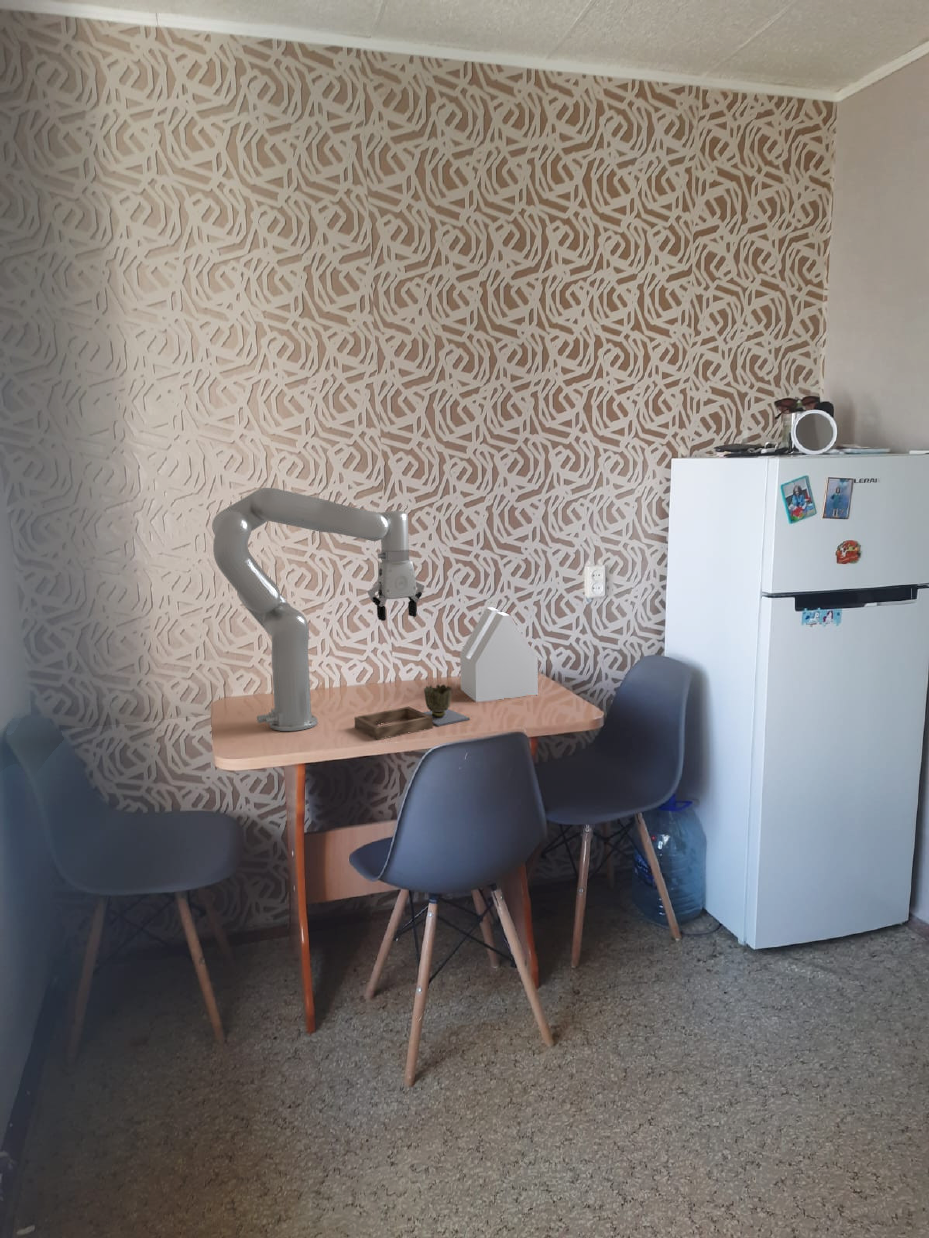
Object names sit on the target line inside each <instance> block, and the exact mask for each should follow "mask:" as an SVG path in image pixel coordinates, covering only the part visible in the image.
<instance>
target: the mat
mask: <svg viewBox="0 0 929 1238" xmlns="http://www.w3.org/2000/svg"><path fill="white" fill-rule="evenodd" d="M421 712H422V711H421ZM444 712H445V715H444V716H443V717H441V718H435V717H433V716H432V711H430V710H428V711H423V712H422V713H424V714H427V715H429V716H431V717H432V718H433V725H434V726H436V727H438V728H440V727H442V726H447V725H453V724H456V723H461V722H466V721H470V717H468V716H466V715H464V714H461V713H459V712H456V711H454V710H451V709H449V708H448V709H447V710H446V711H444Z"/></svg>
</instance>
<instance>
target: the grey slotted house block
mask: <svg viewBox="0 0 929 1238" xmlns="http://www.w3.org/2000/svg"><path fill="white" fill-rule="evenodd" d="M459 659H460V660H459V661H460V666H459V667H460V668H459V669H460V671H459V672H460V690H461V691H462V692H463V691H464V692H463V693H464V694H466V695H467V696H469V697H470V698H471V699H472V700H473V701H474V702H475V703H481V702H482V703H483V702H491V701H500V700H499V699H502V700H505V699H504V698H511V699H516V698H515V697H521V696H526V695H538V696H539V687H538V685H539V674H538V673H539V663H538V662H539V657H538V656H537V655H536V654H535V652H534V650H533V649H532V646H531V645H530V644H529V643H528V641H527V640H526V638H525V636H524V635H523V634H522V631H521V630H520V629H519V627H518V625H517V623H516V622H515V621H514V619H513V618H512V616H511V615H510V614H508V613H506V612H503V611H502V612H500V610H499V609H497V608H495V607H492V606H491V607H486V608H485V609H484V611H483V612H482V615H481V616H480V618H479V619H478V621H477V623H476V625H475V627H474V628H473V630H472V632H471V634H470V635H469V637H468V639H467V640H466V642H465V644H464V646H463V648H462V649H461V651H460V652H459ZM521 698H522V697H521Z"/></svg>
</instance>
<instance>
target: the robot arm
mask: <svg viewBox="0 0 929 1238" xmlns="http://www.w3.org/2000/svg"><path fill="white" fill-rule="evenodd" d="M268 522H272V523H276V524H281V525H287V526H292V527H296V528H301V529H305V530H310V531H316V532H320V533H329V534H337V535H343V536H346V537H353V538H357V539H361V540H368V541H371V542H376V541H377V542H378V541H380V546H381V547H380V548H381V551H380V553H377V558H378V559H381V561H380V562H379V566H378V572H377V573H378V574H377V584H376V585H374V586H373V587H371V588H370V589H369V590H367V594H368V596H369V598H370V601H372V603H374V605H375V606H376V615H377V618H378V620H379V621H382V622H385V621H386V620H387V612H386V611H387V610H386V606H385V604H386V602H387V601H388V600H396V599H397V600H398V599H406V598H408V602H407V604H408V605H407V606H408V609H407V610H408V616H410V617H413V618H415V617H417V613H418V603H419V599H420V598H421V597H422V595H423V592H424V589H425V585H423V584H421V583H419V582H418V581H417V580H416V571H415V567H414V563H413V560H410V545H409V542H410V541H409V538H410V537H409V516H408V514H407V512H406V511H402V510H391V511H389V510H388V511H387V510H386V511H383V512H376V511H371V510H367V509H362V508H357V507H353V506H348V505H344V504H341V503H338V502H333V501H331V500H329V499H323V498H320V497H315V496H311V495H306V494H302V493H298V492H294V491H293V492H292V491H288V490H285V489H284V490H283V489H281V488H280V489H279V488H275V487H261V488H259V489H256V490H255V491H253V492H252V493H250V494H248V495H247V496H245V497H243V498H242V499H240V500H238V501H236V502H234V503H232V504H231V505H229V506H228V507H226V508H224V509H223V510H221V511H219V512H217V514H216V515H215V516H214V518H213V520H212V523H211V529H212V532H213V534H214V539H213V545H212V547H213V549H212V550H213V552H212V553H213V557H214V562H215V564H216V566H217V567H218V569H219V571H220V572H221V574H222V575H223V576H224V577H225V579H226V580H227V581H228V582H229V584H230V585H231V586H232V587H233V588H234V590H235V591H236V592H237V597H238V599H239V601H240V602H241V604H242V605H243V606H244V607H245V609H246V610H247V611H248V612H249V614H251V616H252V617H253V618H254V619H255V620H256V622H257V623H258V624H260V626H261V627H262V628H263V629H264V631H266V632H267V634H269V635H270V637H271V670H272V686H273V703H274V708H271V709H270V710H271V711H270V712H268V713H267V714H260V715H257V716H256V719H257V720H256V721H257V723H259V724H260V723H266V724H269V727H270V728H271V729H272V730H275V731H279V732H297V731H303V730H307V729H310V728H313V727H315V726H316V725H317V724H318V717H316V716H315V715H313V714H312V705H311V704H312V703H311V701H312V699H311V684H310V681H311V680H310V666H309V664H310V663H309V642H310V641H309V640H310V639H309V638H310V627H309V624H308V620H307V618H306V617H305V615H304V614H303V613H302V612H301V611H299V610H298V609H296V608H294V607H293V606H292V605H291V604H290V603H289V602H288V601H287V600H286V599H285V597H284V596H283V595H282V593H280V589H279V587H278V585H277V584H276V583H275V581H274V580H273V579H271V578H270V577H269V575H268V574H267V573H266V572H265V571H264V570H263V568H262V567H261V566H260V565H259V563H258V562H257V560H256V559H255V558H254V557H253V555H252V554H251V552H250V550H249V545H248V544H249V539H250V537H251V534H252V532H253V531H254V530H256V529H258V528H260V527H261V526H263V525H264V524H266V523H268ZM376 593H377V595H378V597H377V595H376Z"/></svg>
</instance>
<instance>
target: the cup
mask: <svg viewBox="0 0 929 1238" xmlns="http://www.w3.org/2000/svg"><path fill="white" fill-rule="evenodd" d="M423 691H424V693H423V694H424V698H425V704H426V707H427V709H428V711H432V716H433V717H435V718H441V717H443V716H444V715H445V712H444V711H446V710H447V709H449V708H450V704H451V698H452V697H451V695H452V687H451V686H449V685H447V686H446V685H445V684H442V685H440V684H437V685H436V687H433V686H432V685H429V686H425V687H424V688H423Z"/></svg>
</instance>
